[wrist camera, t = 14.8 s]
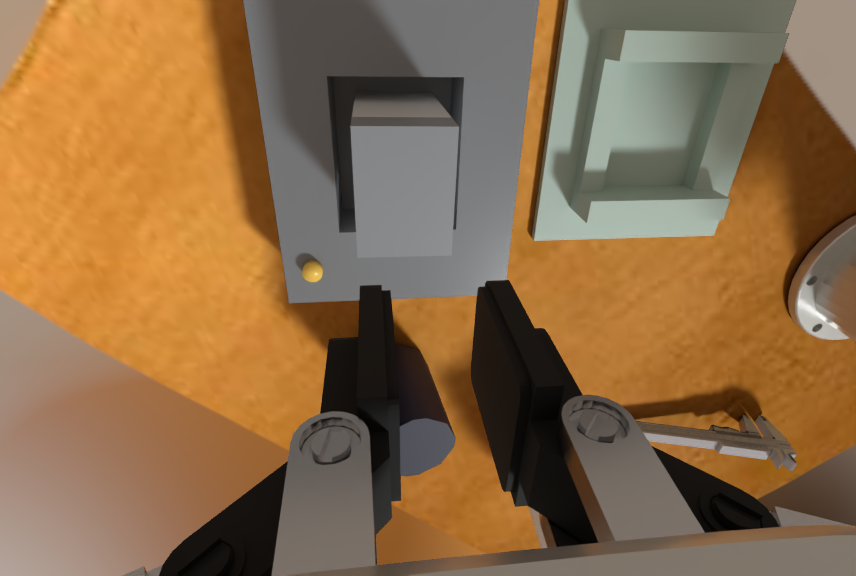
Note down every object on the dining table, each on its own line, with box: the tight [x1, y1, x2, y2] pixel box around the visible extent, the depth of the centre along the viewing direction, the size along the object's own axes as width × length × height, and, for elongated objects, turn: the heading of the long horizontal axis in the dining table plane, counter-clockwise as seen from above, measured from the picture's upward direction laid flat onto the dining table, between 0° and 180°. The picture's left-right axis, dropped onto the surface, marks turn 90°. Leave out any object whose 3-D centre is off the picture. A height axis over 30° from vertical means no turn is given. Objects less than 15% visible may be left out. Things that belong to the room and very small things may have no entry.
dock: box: [243, 0, 539, 303], centre depth 28 cm, size 14×18×5 cm
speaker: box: [395, 345, 455, 476], centre depth 35 cm, size 8×6×10 cm
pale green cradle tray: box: [532, 0, 796, 241], centre depth 30 cm, size 14×16×4 cm
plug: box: [350, 91, 459, 258], centre depth 25 cm, size 4×6×10 cm
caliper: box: [636, 415, 797, 471], centre depth 44 cm, size 20×1×6 cm, turn 84°
